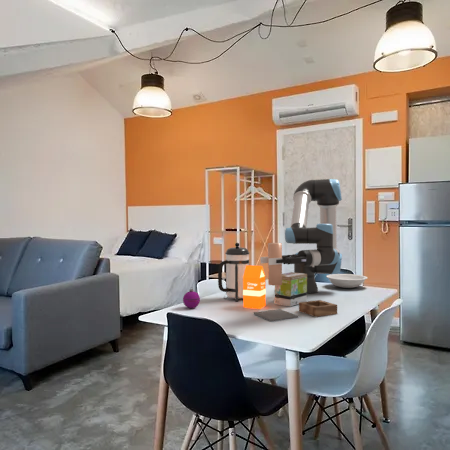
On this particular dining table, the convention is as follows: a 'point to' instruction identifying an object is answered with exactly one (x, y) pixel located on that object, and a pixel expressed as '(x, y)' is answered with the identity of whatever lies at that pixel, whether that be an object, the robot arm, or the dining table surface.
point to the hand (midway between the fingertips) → (265, 261)
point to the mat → (275, 315)
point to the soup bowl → (346, 280)
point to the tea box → (291, 289)
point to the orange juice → (254, 287)
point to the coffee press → (234, 271)
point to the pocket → (318, 308)
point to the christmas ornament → (191, 299)
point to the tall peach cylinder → (274, 270)
